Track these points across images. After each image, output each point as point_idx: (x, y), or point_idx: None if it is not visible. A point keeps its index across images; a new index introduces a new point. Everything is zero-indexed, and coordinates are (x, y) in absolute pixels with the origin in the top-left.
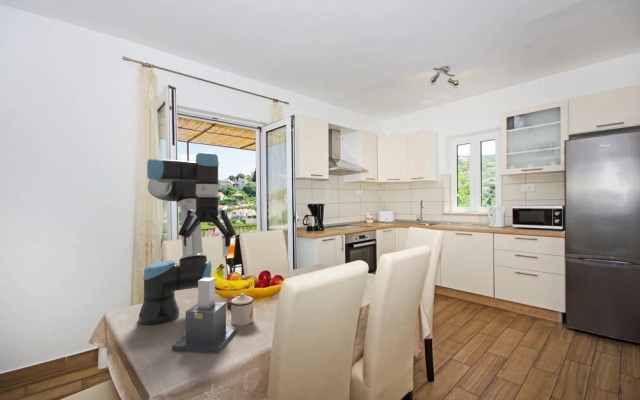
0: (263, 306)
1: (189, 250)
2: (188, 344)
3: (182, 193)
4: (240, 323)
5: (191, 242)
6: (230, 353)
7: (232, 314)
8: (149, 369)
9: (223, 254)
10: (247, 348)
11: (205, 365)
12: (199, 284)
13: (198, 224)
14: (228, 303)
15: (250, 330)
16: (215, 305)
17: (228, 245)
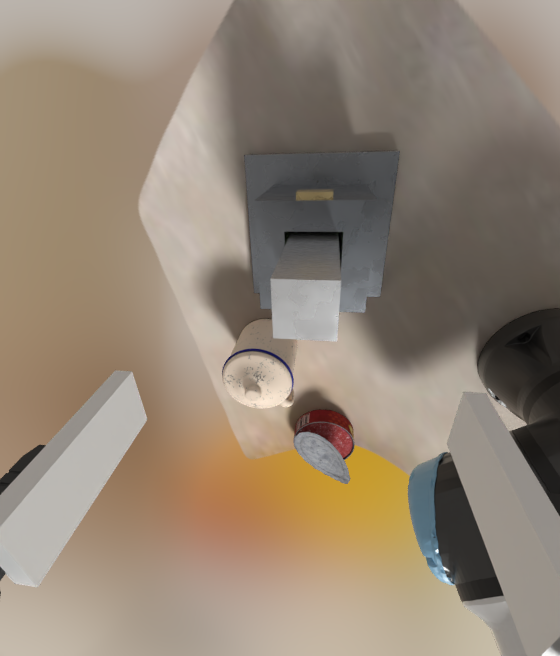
0: (252, 426)
1: (475, 449)
2: (348, 168)
3: None
4: (259, 321)
5: (499, 560)
6: (212, 160)
7: (283, 340)
8: (417, 13)
9: (116, 383)
10: (181, 195)
11: (248, 76)
12: (332, 272)
13: None
14: (343, 426)
15: (222, 296)
16: None
17: (25, 456)
